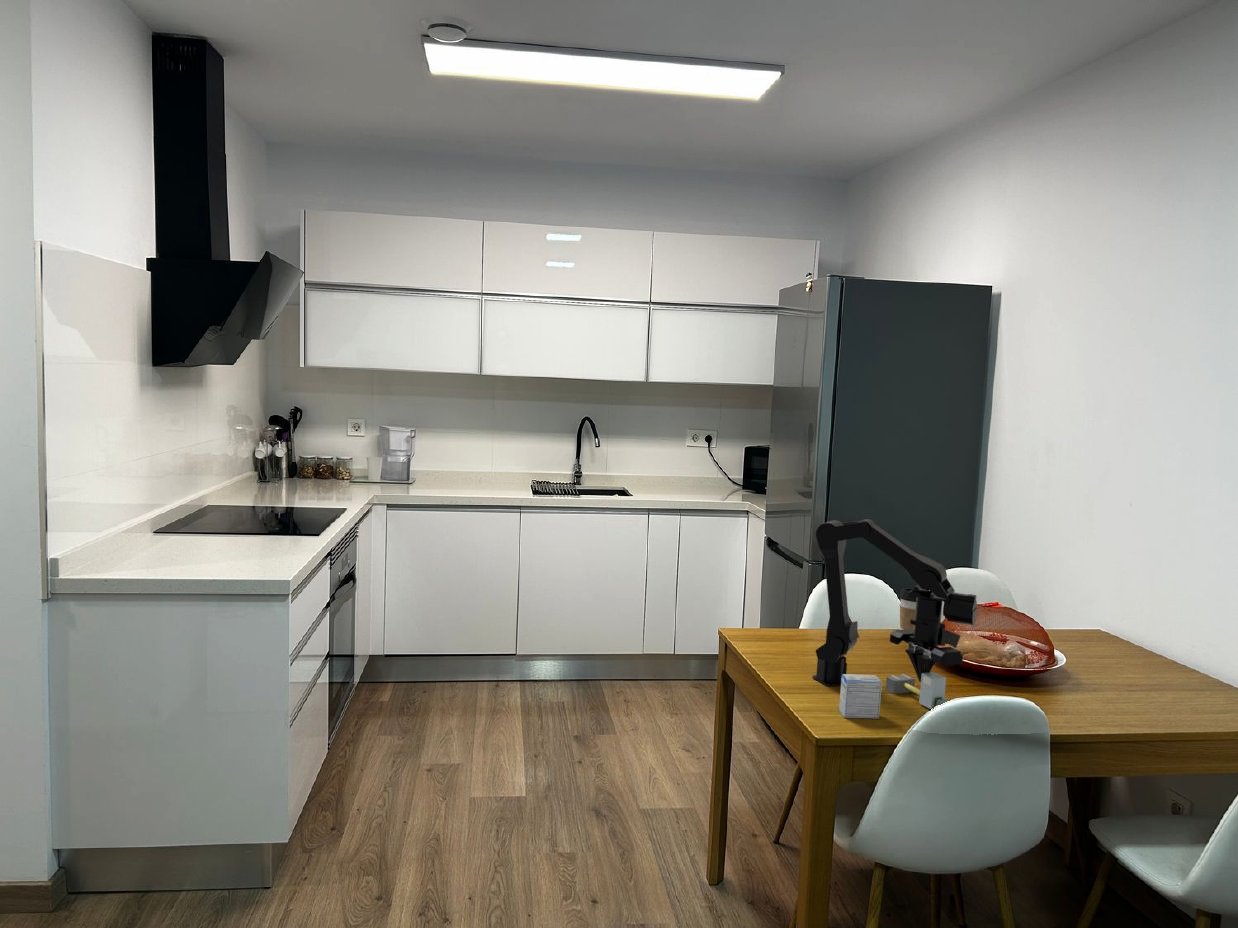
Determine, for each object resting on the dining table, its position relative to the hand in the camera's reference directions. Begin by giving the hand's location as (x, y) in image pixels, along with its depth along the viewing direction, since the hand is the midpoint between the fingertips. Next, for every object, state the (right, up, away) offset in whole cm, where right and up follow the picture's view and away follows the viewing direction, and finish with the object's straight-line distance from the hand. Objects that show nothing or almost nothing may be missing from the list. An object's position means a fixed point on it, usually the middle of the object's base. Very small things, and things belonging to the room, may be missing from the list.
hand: (922, 682), depth 215 cm
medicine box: (-17, -5, -10) cm, 21 cm away
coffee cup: (+14, 0, +51) cm, 53 cm away
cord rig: (0, -5, 0) cm, 5 cm away
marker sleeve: (+1, -5, -3) cm, 6 cm away
